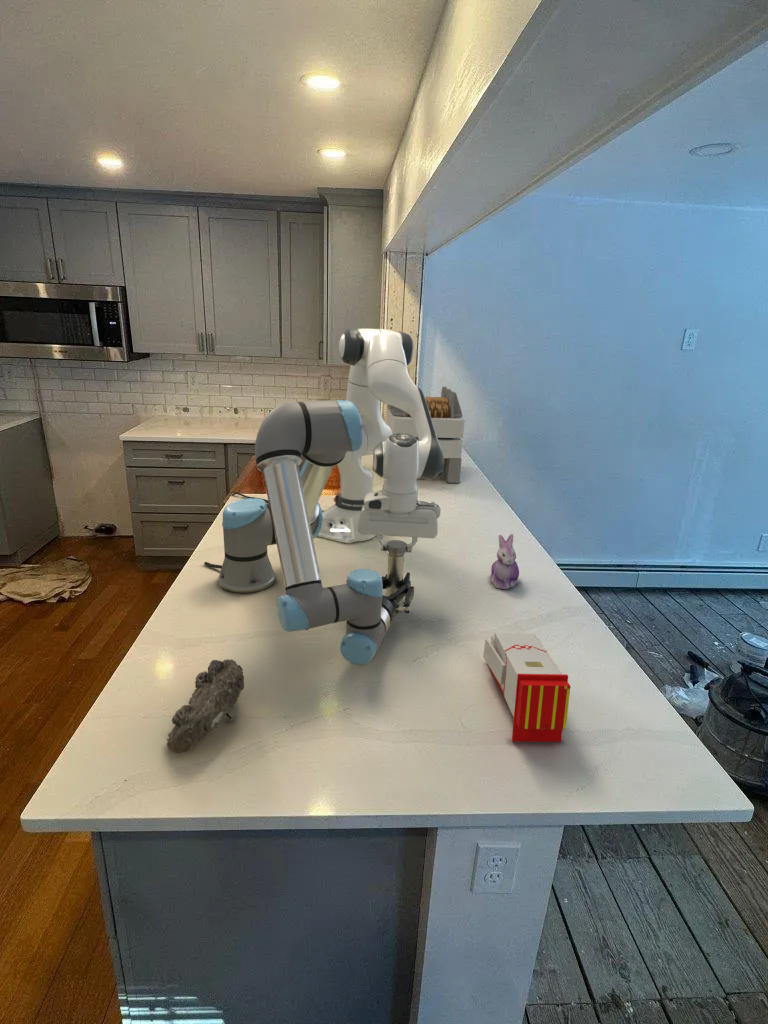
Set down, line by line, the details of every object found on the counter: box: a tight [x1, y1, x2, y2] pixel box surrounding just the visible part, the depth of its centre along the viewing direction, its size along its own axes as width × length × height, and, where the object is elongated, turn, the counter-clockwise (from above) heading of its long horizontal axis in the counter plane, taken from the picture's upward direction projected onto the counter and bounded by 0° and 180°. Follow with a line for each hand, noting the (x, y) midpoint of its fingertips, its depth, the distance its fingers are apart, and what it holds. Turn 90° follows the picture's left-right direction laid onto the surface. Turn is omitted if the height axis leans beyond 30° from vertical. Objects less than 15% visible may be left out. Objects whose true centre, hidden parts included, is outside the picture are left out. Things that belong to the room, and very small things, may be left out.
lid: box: [386, 539, 408, 554], centre depth 145 cm, size 5×5×2 cm
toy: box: [482, 632, 571, 743], centre depth 116 cm, size 12×13×30 cm
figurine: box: [490, 533, 520, 590], centre depth 164 cm, size 9×10×15 cm
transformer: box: [385, 386, 465, 484], centre depth 268 cm, size 34×33×41 cm
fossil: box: [166, 658, 245, 754], centre depth 106 cm, size 22×10×15 cm
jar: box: [385, 551, 405, 605], centre depth 148 cm, size 4×4×17 cm
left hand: (399, 575), depth 154 cm, fingers closed on jar, 4 cm apart
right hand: (396, 551), depth 146 cm, fingers closed on lid, 5 cm apart
